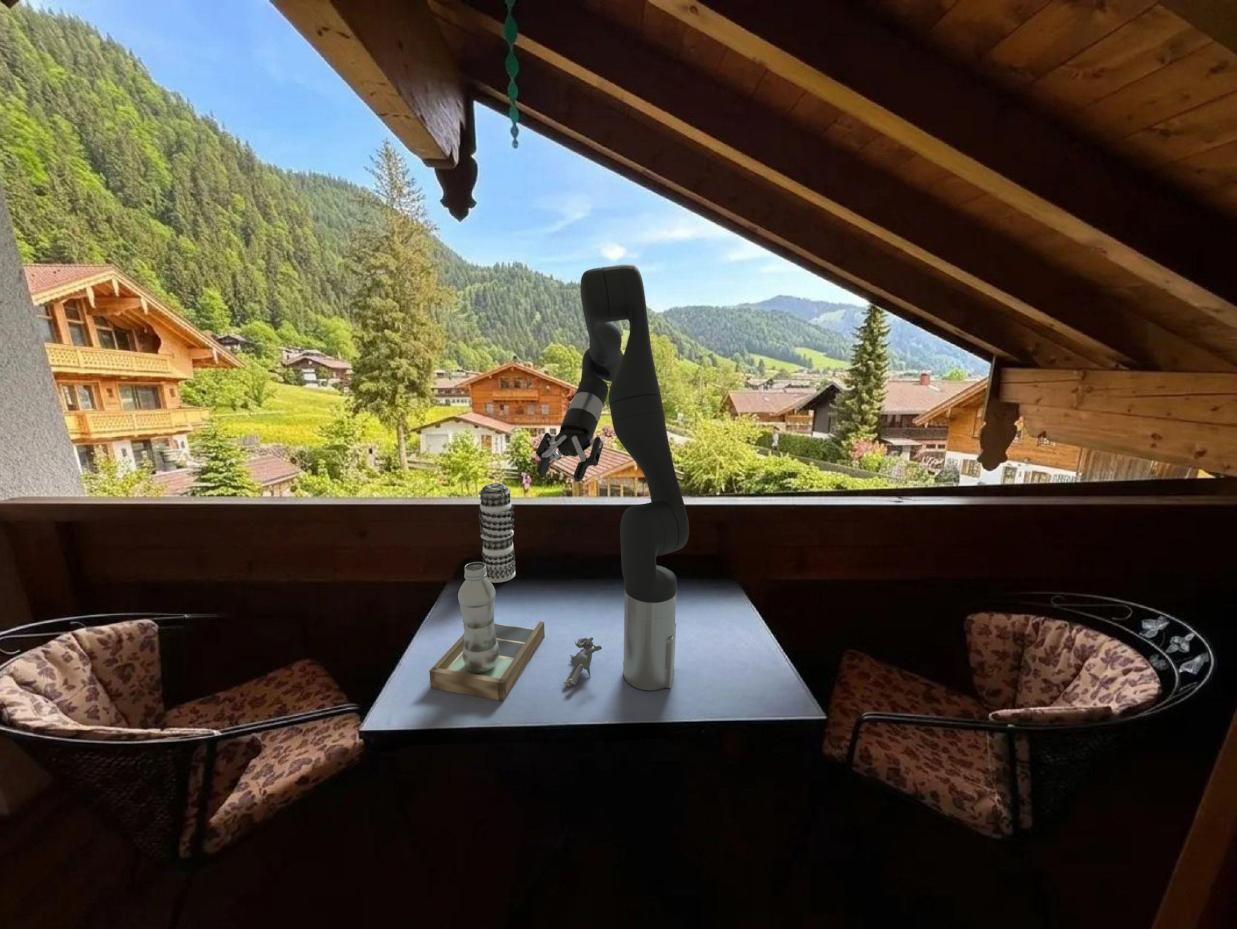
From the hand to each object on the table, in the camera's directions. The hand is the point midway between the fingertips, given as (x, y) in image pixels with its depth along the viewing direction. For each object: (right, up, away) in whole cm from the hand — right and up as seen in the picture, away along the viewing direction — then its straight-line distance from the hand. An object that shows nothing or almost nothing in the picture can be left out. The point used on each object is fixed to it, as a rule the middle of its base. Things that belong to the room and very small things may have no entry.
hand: (558, 477), depth 97 cm
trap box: (-12, -35, -7) cm, 38 cm away
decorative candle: (-19, -27, +27) cm, 43 cm away
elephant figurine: (+6, -37, -11) cm, 39 cm away
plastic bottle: (-13, -35, -12) cm, 39 cm away
